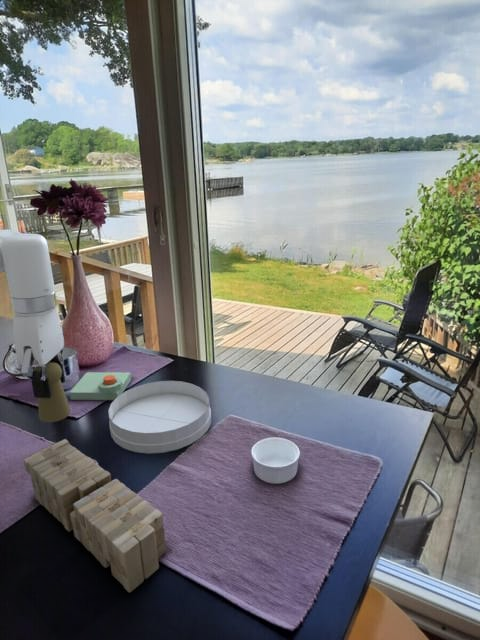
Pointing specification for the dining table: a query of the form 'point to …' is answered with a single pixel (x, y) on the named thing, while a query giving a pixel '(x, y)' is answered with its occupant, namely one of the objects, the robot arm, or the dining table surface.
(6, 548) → the dining table surface
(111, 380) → the button
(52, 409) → the brown rounded upright piece
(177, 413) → the dish
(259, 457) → the ramekin
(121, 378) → the scale
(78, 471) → the block tower
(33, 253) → the robot arm
